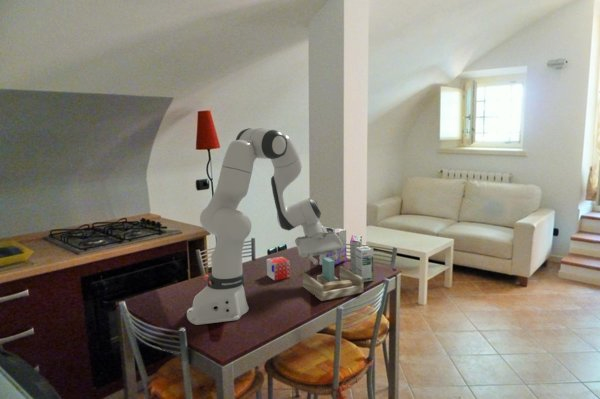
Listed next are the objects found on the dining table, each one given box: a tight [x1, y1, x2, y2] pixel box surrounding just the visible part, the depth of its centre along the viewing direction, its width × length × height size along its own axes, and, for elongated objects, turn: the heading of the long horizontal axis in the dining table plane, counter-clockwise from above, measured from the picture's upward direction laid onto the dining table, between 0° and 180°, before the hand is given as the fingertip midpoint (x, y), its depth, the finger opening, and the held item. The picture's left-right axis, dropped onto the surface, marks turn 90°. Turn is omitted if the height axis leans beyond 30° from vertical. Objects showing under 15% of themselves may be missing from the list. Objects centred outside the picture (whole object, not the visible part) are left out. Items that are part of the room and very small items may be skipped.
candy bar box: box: [349, 234, 363, 274], centre depth 194 cm, size 11×5×16 cm, turn 168°
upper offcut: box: [321, 280, 352, 291], centre depth 171 cm, size 12×4×2 cm, turn 100°
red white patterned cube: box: [266, 256, 291, 281], centre depth 192 cm, size 8×8×8 cm
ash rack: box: [302, 266, 364, 302], centre depth 175 cm, size 19×17×6 cm
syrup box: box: [356, 245, 374, 283], centre depth 185 cm, size 6×6×14 cm
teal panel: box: [321, 257, 335, 282], centre depth 178 cm, size 2×6×12 cm, turn 24°
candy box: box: [318, 227, 348, 267], centre depth 208 cm, size 14×6×16 cm, turn 130°
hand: (326, 262), depth 179 cm, fingers open, 8 cm apart
